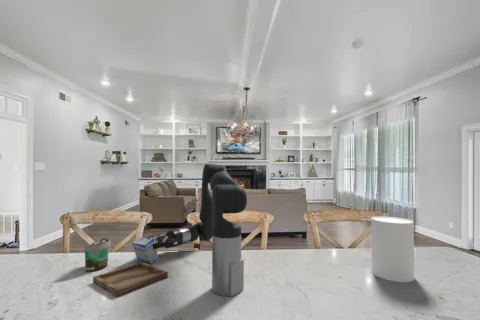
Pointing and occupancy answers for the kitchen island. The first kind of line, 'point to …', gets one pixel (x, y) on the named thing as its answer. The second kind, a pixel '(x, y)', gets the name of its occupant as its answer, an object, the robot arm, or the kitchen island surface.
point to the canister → (393, 248)
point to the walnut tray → (129, 278)
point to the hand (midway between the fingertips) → (147, 244)
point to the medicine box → (145, 250)
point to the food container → (97, 255)
